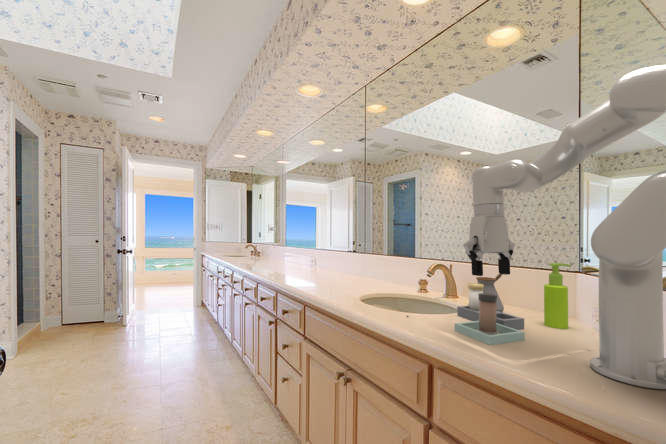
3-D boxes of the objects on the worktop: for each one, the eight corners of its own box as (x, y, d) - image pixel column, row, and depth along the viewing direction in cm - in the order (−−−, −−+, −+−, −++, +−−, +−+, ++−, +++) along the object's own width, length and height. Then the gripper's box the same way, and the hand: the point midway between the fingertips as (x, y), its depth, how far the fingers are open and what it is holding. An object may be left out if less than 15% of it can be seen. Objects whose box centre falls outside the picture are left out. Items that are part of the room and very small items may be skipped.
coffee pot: (494, 320, 102) (494, 275, 103) (462, 313, 111) (462, 271, 112) (521, 311, 115) (521, 271, 116) (490, 305, 124) (490, 268, 125)
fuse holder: (524, 332, 90) (524, 318, 90) (503, 335, 87) (503, 320, 87) (475, 316, 107) (475, 304, 107) (457, 318, 104) (457, 306, 104)
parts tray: (524, 343, 80) (524, 332, 80) (489, 349, 76) (489, 336, 76) (486, 330, 91) (486, 319, 91) (454, 334, 87) (454, 323, 87)
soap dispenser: (576, 333, 90) (575, 264, 91) (549, 331, 91) (549, 263, 92) (565, 327, 96) (565, 262, 97) (540, 325, 97) (540, 262, 98)
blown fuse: (501, 337, 82) (501, 295, 83) (488, 339, 81) (488, 296, 81) (487, 332, 87) (487, 292, 87) (474, 333, 85) (474, 293, 86)
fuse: (486, 318, 100) (486, 284, 101) (475, 320, 99) (476, 285, 99) (475, 315, 105) (475, 282, 105) (465, 316, 103) (465, 283, 103)
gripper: (500, 214, 91) (502, 272, 90) (453, 212, 85) (455, 274, 84) (523, 211, 84) (526, 274, 83) (475, 209, 78) (477, 277, 77)
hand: (491, 274), depth 84 cm, fingers open, 9 cm apart
